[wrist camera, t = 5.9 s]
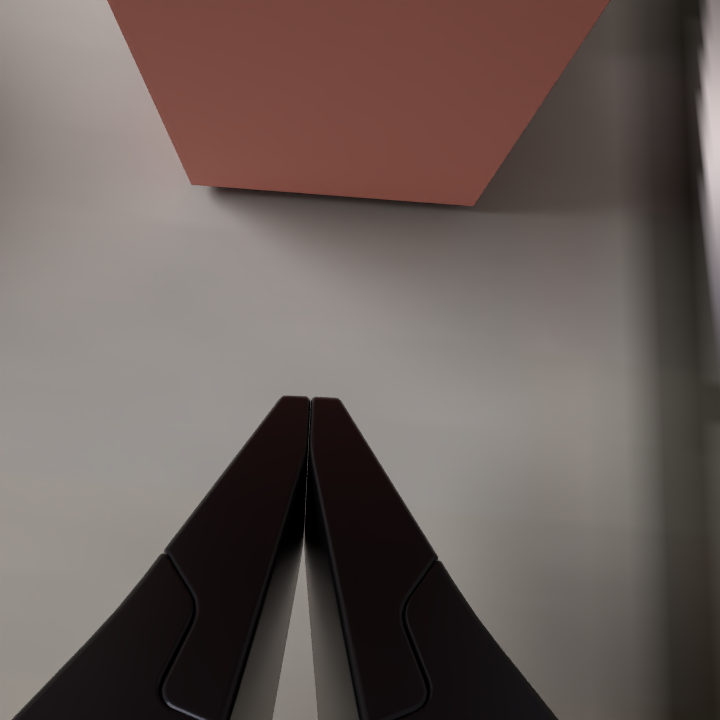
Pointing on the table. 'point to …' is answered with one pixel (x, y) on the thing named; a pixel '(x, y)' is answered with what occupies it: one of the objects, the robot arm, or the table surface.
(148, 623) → the robot arm
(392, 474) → the table surface
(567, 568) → the table surface
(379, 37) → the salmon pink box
